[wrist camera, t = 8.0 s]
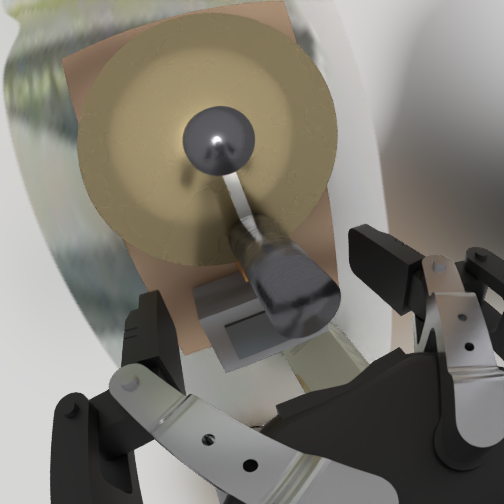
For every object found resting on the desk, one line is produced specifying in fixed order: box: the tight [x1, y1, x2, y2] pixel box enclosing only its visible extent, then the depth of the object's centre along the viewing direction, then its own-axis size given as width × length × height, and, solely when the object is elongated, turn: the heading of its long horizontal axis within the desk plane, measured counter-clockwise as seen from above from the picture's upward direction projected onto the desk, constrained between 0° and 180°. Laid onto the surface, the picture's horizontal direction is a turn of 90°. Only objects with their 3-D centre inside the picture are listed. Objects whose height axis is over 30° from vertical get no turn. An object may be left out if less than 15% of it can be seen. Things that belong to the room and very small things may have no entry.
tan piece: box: [62, 1, 339, 373], centre depth 14 cm, size 20×12×5 cm, turn 14°
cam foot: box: [77, 13, 341, 339], centre depth 10 cm, size 12×12×8 cm
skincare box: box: [282, 322, 370, 393], centre depth 19 cm, size 6×4×12 cm
